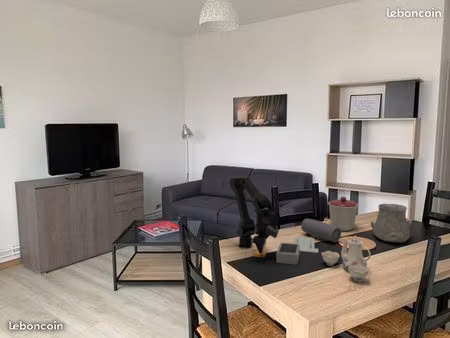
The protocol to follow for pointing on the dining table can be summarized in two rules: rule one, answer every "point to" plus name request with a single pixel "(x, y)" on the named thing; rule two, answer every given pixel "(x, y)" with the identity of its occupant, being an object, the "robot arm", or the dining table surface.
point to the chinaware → (350, 258)
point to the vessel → (392, 223)
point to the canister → (343, 213)
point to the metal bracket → (305, 244)
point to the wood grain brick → (257, 254)
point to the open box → (288, 253)
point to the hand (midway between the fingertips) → (261, 251)
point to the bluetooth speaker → (321, 230)
